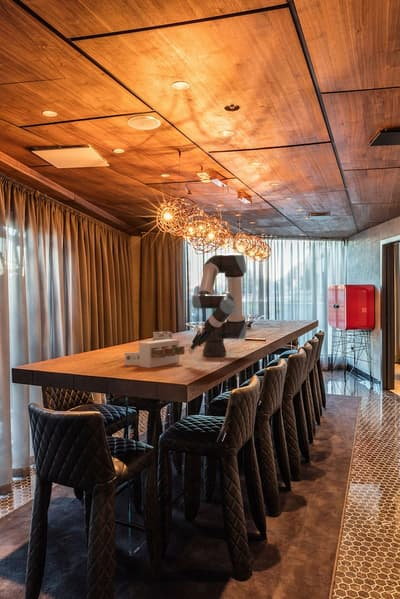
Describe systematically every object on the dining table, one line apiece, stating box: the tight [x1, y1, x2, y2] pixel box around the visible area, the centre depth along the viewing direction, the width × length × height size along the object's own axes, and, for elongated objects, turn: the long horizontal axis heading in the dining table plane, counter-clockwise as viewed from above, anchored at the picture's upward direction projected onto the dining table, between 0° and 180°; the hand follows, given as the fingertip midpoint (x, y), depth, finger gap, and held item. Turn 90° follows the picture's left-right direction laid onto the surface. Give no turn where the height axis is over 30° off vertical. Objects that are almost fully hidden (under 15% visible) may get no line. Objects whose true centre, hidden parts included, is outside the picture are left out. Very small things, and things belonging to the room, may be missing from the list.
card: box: [124, 351, 139, 366], centre depth 257 cm, size 10×1×7 cm, turn 98°
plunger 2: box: [172, 345, 186, 356], centre depth 263 cm, size 4×9×4 cm, turn 51°
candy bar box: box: [152, 331, 173, 341], centre depth 279 cm, size 11×5×16 cm, turn 76°
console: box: [138, 338, 180, 369], centre depth 260 cm, size 24×8×13 cm, turn 141°
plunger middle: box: [162, 347, 175, 357], centre depth 256 cm, size 4×9×4 cm, turn 51°
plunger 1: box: [151, 348, 165, 358], centre depth 250 cm, size 4×9×4 cm, turn 51°
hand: (189, 351), depth 255 cm, fingers closed
